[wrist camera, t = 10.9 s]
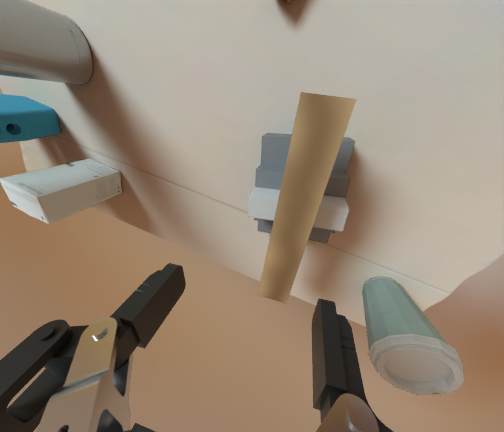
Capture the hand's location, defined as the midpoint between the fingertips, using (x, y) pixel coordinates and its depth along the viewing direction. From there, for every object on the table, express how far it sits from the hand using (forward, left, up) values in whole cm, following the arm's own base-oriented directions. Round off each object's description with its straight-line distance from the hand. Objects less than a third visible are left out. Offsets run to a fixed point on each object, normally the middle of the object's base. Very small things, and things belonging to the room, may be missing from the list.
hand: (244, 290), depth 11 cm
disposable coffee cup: (+21, -21, -25) cm, 39 cm away
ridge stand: (+2, -2, -25) cm, 25 cm away
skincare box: (-41, -5, -25) cm, 48 cm away
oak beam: (+2, -2, -14) cm, 15 cm away
